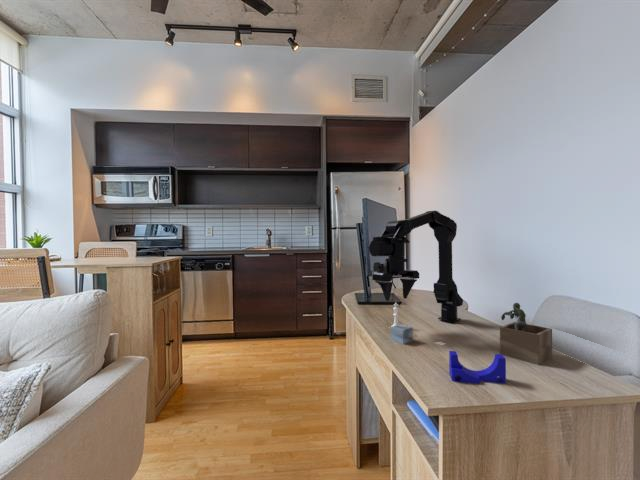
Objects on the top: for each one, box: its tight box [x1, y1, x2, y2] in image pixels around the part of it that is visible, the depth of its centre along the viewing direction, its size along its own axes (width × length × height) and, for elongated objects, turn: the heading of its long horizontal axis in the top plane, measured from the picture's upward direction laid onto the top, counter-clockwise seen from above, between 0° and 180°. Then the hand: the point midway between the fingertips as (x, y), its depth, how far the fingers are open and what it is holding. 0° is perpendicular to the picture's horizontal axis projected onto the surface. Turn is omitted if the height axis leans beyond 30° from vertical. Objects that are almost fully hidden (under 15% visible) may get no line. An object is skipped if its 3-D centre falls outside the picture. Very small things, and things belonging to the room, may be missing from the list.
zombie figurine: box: [500, 302, 528, 332], centre depth 99 cm, size 5×7×15 cm
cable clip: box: [448, 350, 507, 385], centre depth 79 cm, size 12×4×6 cm, turn 77°
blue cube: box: [390, 323, 414, 345], centre depth 108 cm, size 5×5×5 cm
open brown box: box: [499, 321, 553, 366], centre depth 95 cm, size 10×10×8 cm
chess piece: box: [391, 302, 400, 327], centre depth 123 cm, size 5×5×10 cm
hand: (396, 299), depth 118 cm, fingers open, 9 cm apart
